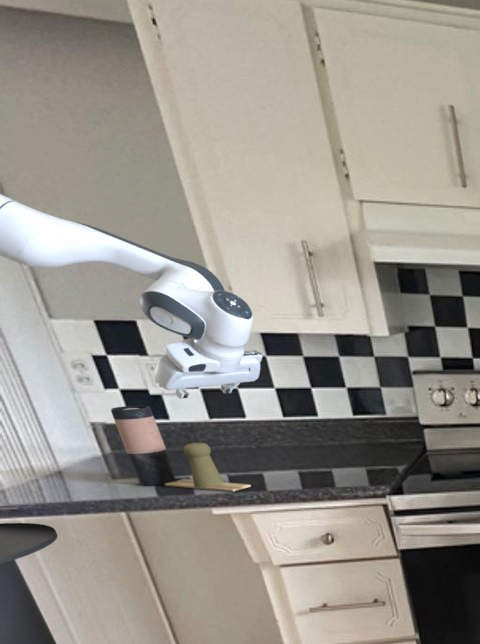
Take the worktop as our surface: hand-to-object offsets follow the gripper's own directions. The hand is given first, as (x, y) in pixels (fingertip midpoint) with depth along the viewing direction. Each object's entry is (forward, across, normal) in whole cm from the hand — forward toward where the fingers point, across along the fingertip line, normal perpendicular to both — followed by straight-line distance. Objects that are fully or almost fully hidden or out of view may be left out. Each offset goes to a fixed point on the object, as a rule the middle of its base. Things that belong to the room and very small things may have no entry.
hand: (203, 393), depth 158 cm
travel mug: (+40, +1, -4) cm, 40 cm away
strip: (+28, -2, +8) cm, 29 cm away
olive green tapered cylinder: (+27, -2, +8) cm, 29 cm away
